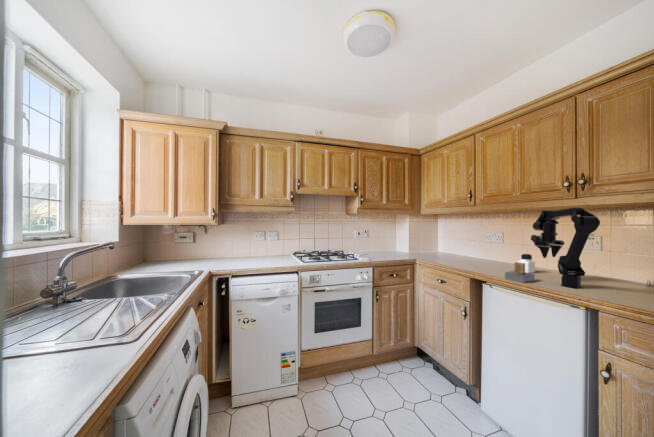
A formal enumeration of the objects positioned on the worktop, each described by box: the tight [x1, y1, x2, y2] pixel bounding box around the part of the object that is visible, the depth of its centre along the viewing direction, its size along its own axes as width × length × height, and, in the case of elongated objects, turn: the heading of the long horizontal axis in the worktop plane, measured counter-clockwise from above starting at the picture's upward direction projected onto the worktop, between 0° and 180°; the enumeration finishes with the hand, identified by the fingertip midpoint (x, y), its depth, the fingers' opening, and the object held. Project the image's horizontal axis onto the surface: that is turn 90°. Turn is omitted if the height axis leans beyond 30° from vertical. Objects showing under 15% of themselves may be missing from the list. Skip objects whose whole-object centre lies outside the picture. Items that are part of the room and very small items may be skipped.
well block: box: [504, 270, 535, 284], centre depth 146 cm, size 10×10×4 cm
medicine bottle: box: [516, 253, 536, 274], centre depth 169 cm, size 7×7×12 cm
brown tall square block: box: [513, 261, 525, 275], centre depth 146 cm, size 4×4×10 cm
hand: (549, 257), depth 149 cm, fingers open, 9 cm apart
